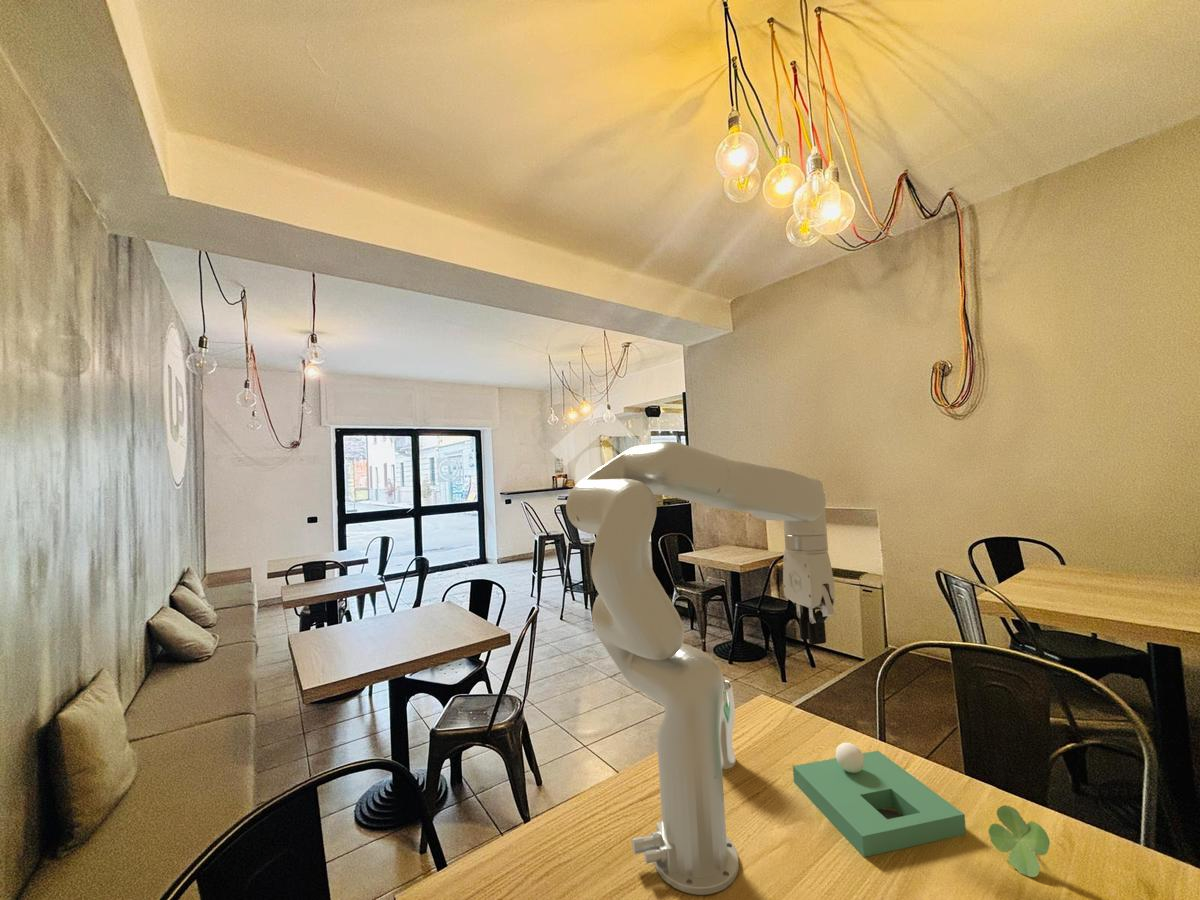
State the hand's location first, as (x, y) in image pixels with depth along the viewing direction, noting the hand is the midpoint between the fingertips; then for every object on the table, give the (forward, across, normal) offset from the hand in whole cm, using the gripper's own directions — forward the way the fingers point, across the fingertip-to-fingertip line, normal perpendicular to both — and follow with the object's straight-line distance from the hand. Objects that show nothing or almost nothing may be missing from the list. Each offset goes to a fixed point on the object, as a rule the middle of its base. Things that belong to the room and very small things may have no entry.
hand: (813, 640), depth 92 cm
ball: (+20, +4, +3) cm, 20 cm away
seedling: (+25, +22, +19) cm, 39 cm away
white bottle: (+25, -10, -16) cm, 32 cm away
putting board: (+25, +9, +3) cm, 27 cm away
